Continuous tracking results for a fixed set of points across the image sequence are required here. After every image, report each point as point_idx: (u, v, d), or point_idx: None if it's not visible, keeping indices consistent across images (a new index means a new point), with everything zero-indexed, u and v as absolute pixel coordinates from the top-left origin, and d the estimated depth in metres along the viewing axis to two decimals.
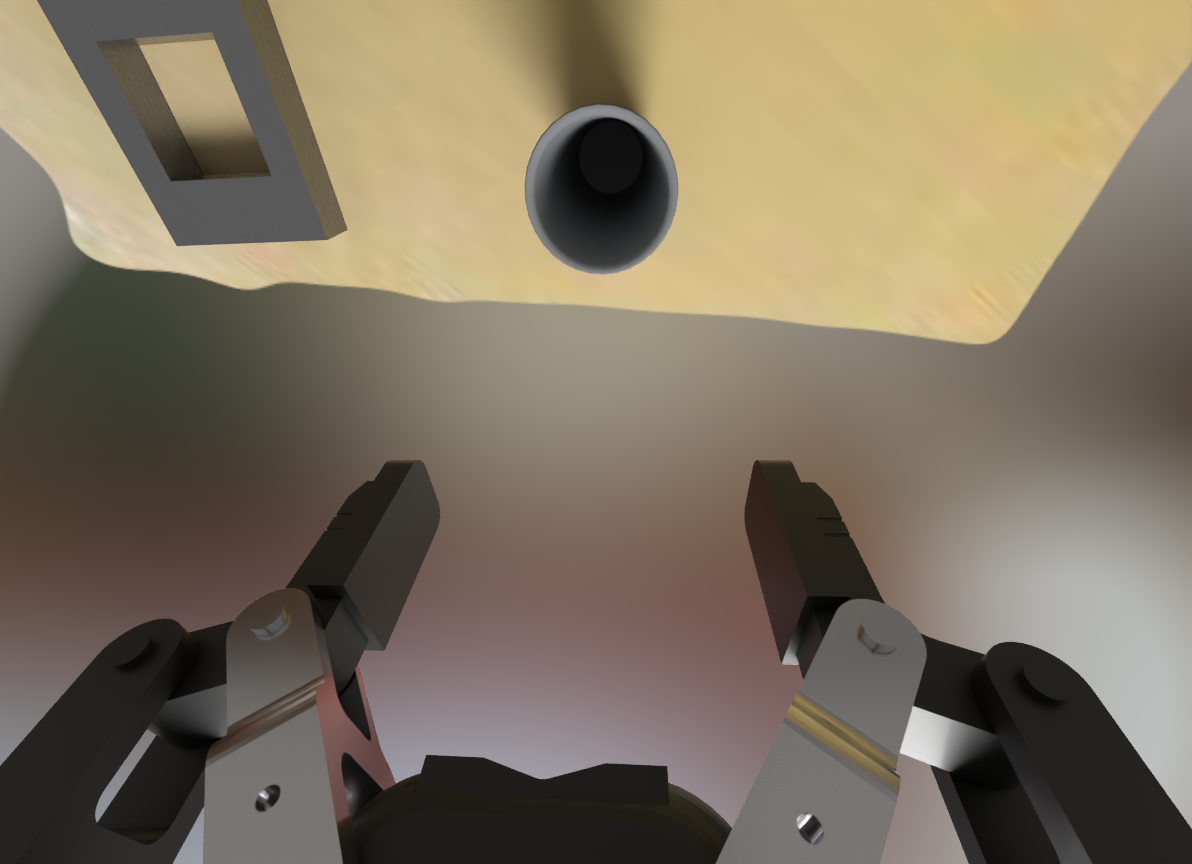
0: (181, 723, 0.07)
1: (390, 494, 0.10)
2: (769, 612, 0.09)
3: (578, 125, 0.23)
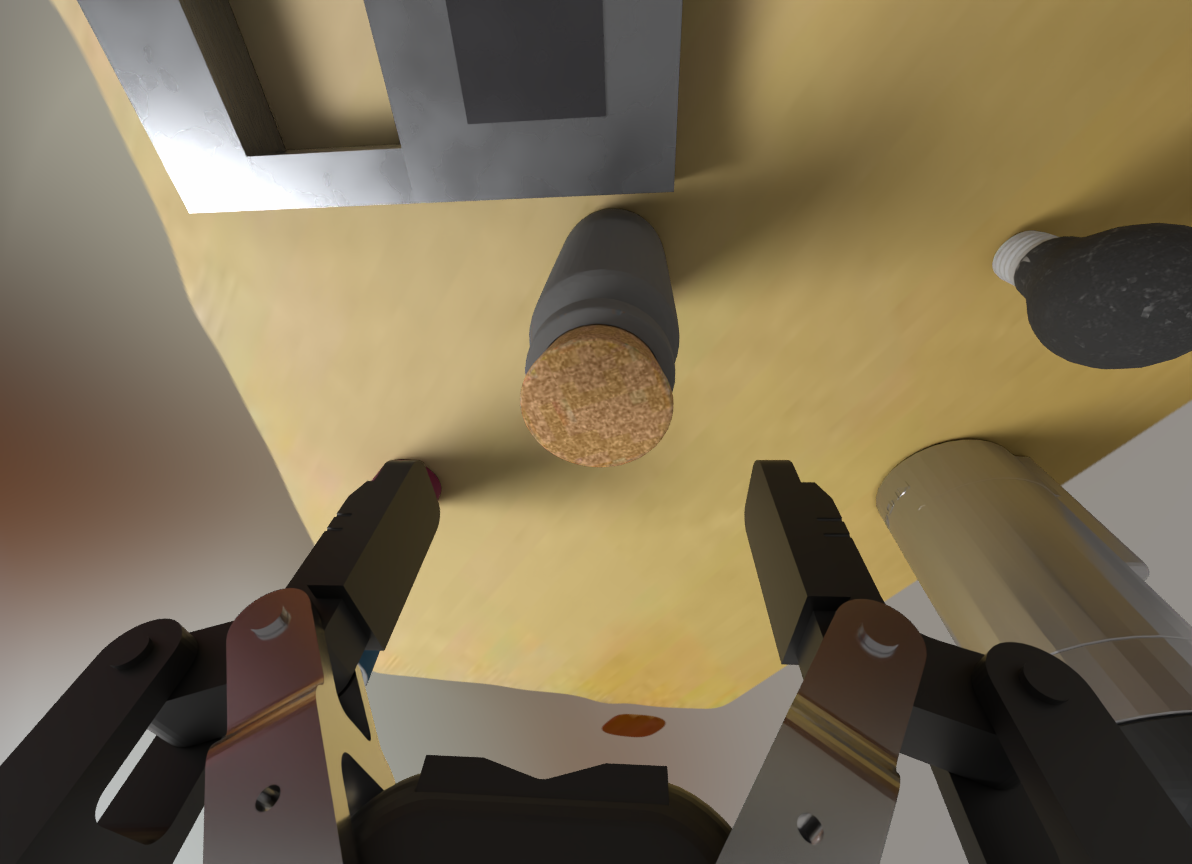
0: (181, 723, 0.07)
1: (390, 494, 0.10)
2: (769, 612, 0.09)
3: None
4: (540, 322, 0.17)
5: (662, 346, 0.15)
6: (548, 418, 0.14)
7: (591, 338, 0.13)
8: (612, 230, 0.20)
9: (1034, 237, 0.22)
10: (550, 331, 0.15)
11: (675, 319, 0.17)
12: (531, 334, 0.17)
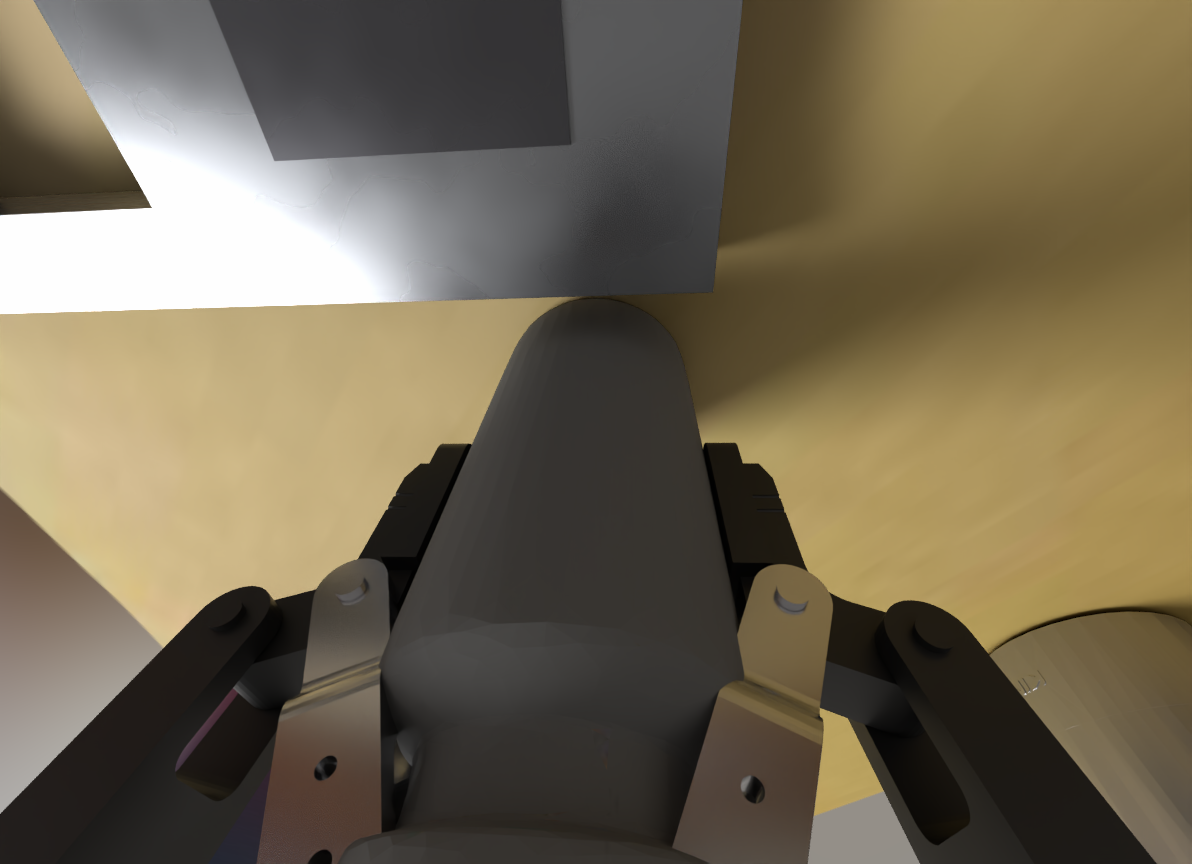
0: (259, 689, 0.08)
1: (448, 475, 0.10)
2: None
3: None
4: None
5: None
6: None
7: None
8: (589, 383, 0.10)
9: None
10: None
11: None
12: None
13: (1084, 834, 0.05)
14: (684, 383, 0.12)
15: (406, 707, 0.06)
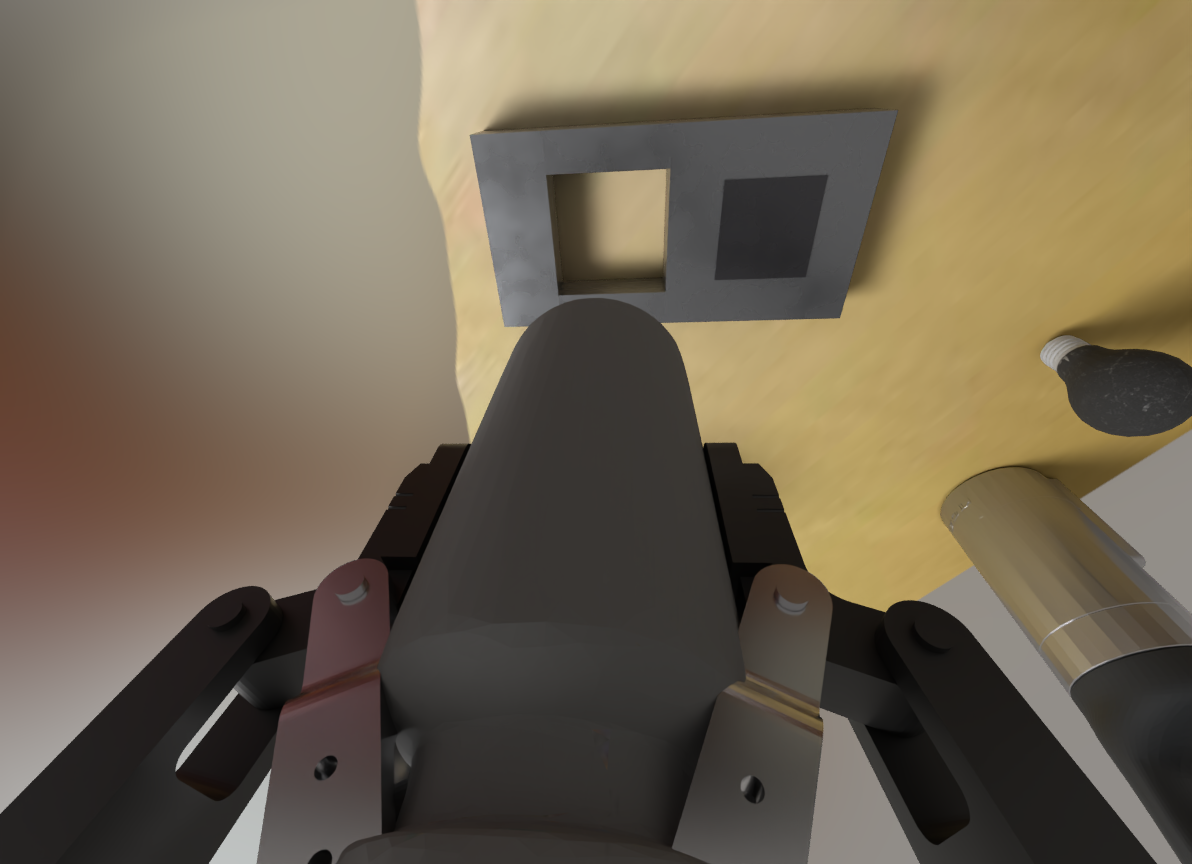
0: (259, 689, 0.08)
1: (448, 474, 0.10)
2: None
3: None
4: None
5: None
6: None
7: None
8: (589, 382, 0.10)
9: (1071, 342, 0.34)
10: None
11: None
12: None
13: (1083, 834, 0.05)
14: (684, 382, 0.12)
15: (405, 707, 0.06)
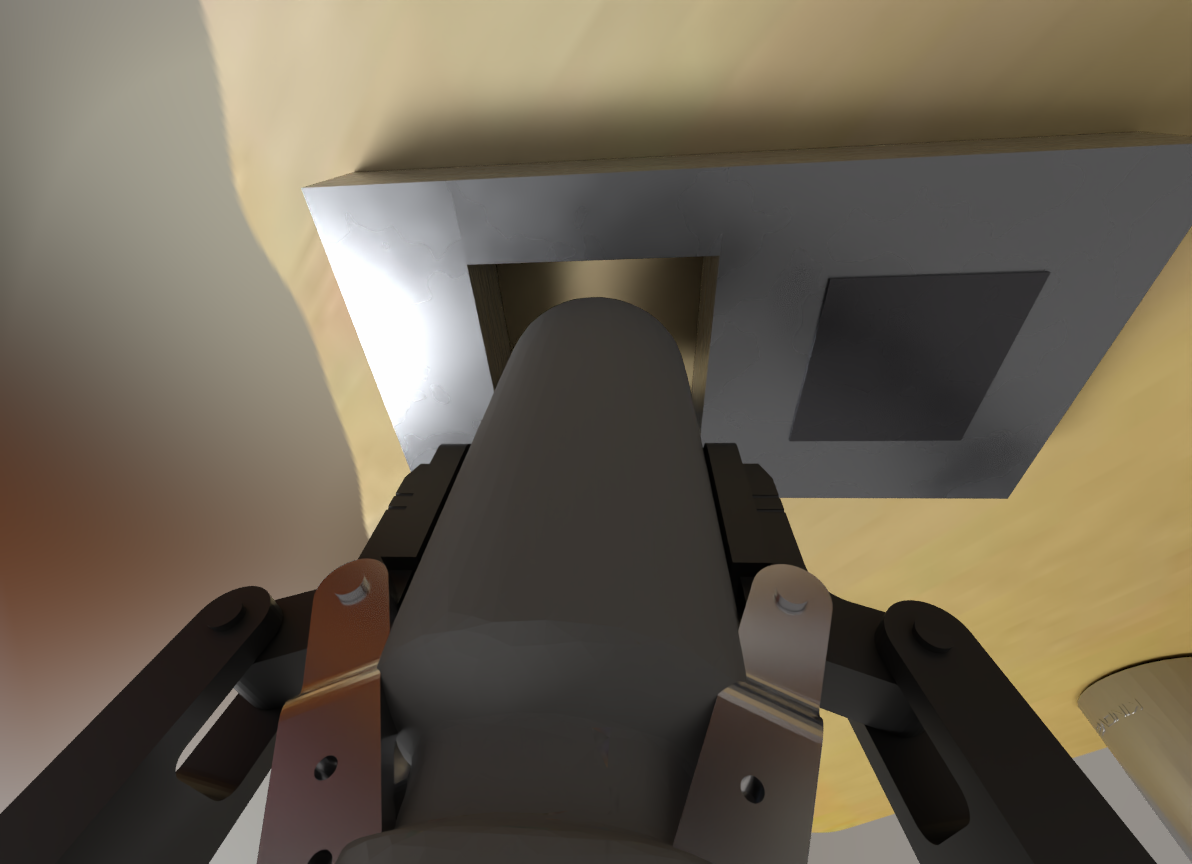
0: (259, 689, 0.08)
1: (448, 474, 0.10)
2: None
3: None
4: None
5: None
6: None
7: None
8: (589, 381, 0.10)
9: None
10: None
11: None
12: None
13: (1084, 834, 0.05)
14: (684, 382, 0.12)
15: (405, 706, 0.06)
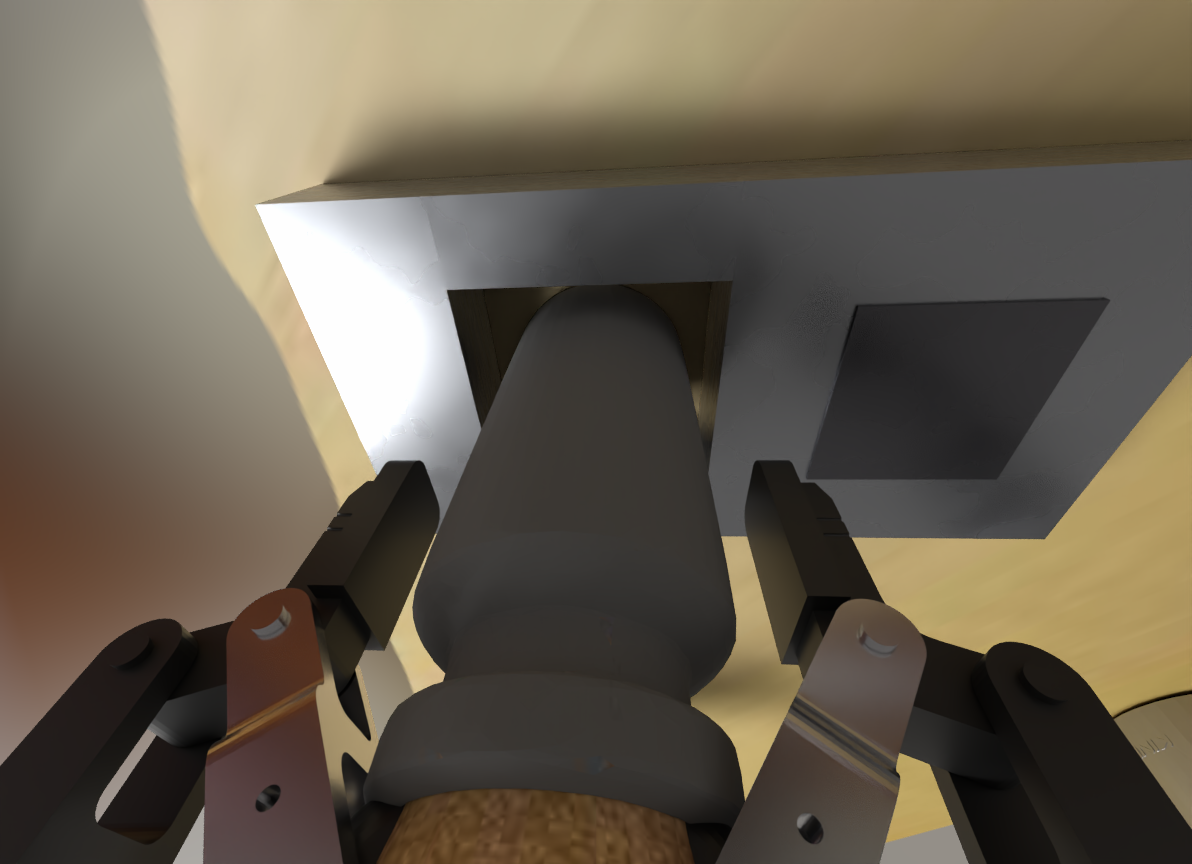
0: (181, 723, 0.07)
1: (390, 494, 0.10)
2: (769, 613, 0.09)
3: None
4: (427, 620, 0.07)
5: (720, 811, 0.05)
6: None
7: None
8: (593, 354, 0.11)
9: None
10: (406, 779, 0.05)
11: (731, 609, 0.07)
12: (416, 625, 0.08)
13: None
14: (680, 358, 0.13)
15: (445, 608, 0.07)
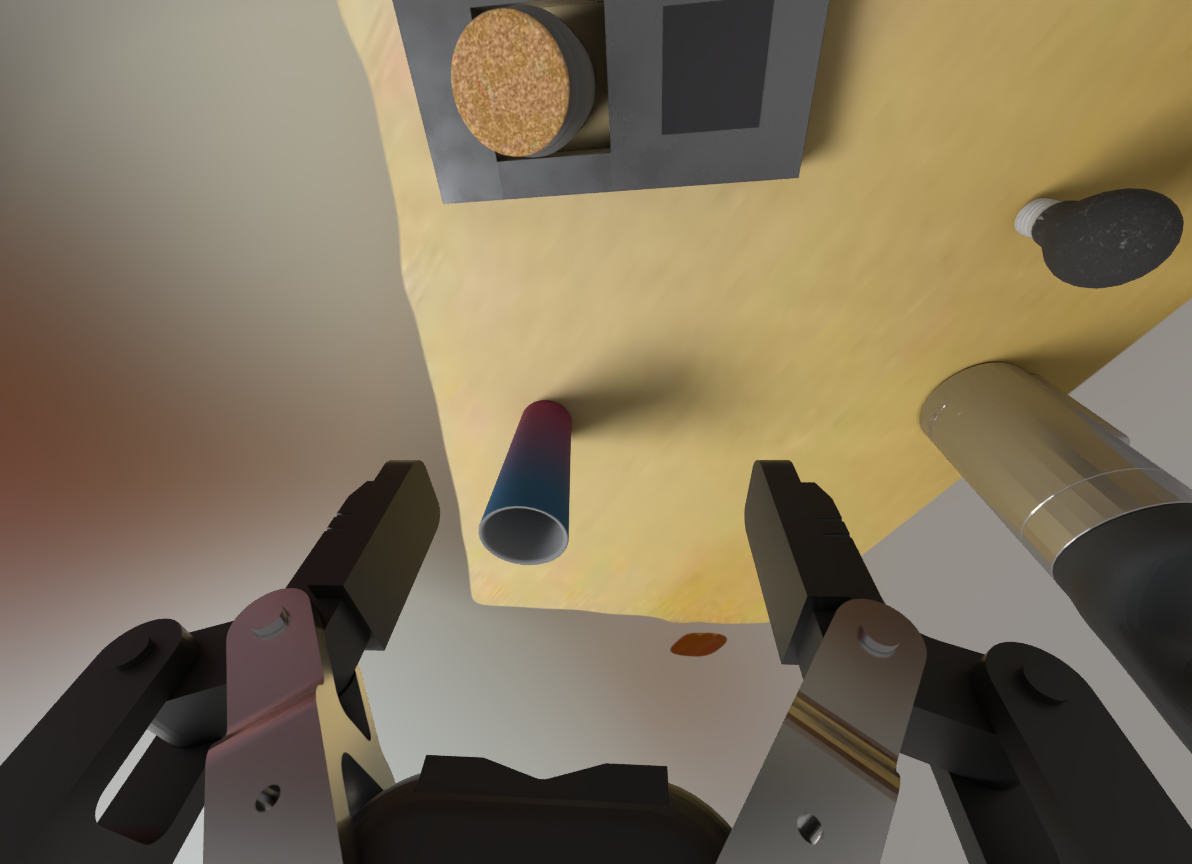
0: (181, 723, 0.07)
1: (390, 494, 0.10)
2: (769, 613, 0.09)
3: None
4: None
5: (562, 45, 0.19)
6: (474, 99, 0.18)
7: (498, 8, 0.17)
8: None
9: (1045, 202, 0.32)
10: None
11: (582, 54, 0.21)
12: None
13: None
14: (586, 52, 0.27)
15: None
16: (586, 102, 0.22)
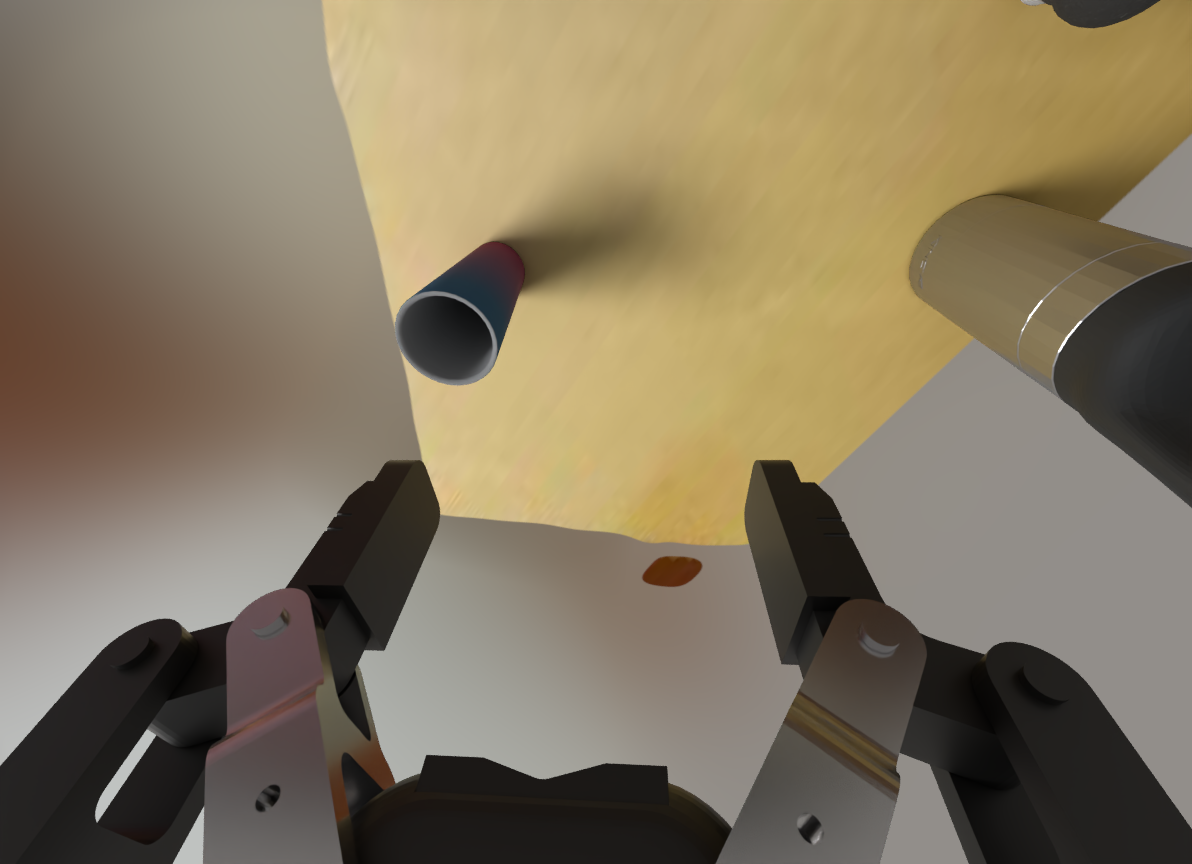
0: (181, 723, 0.07)
1: (390, 494, 0.10)
2: (769, 612, 0.09)
3: None
4: None
5: None
6: None
7: None
8: None
9: None
10: None
11: None
12: None
13: None
14: None
15: None
16: None
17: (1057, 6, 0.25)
